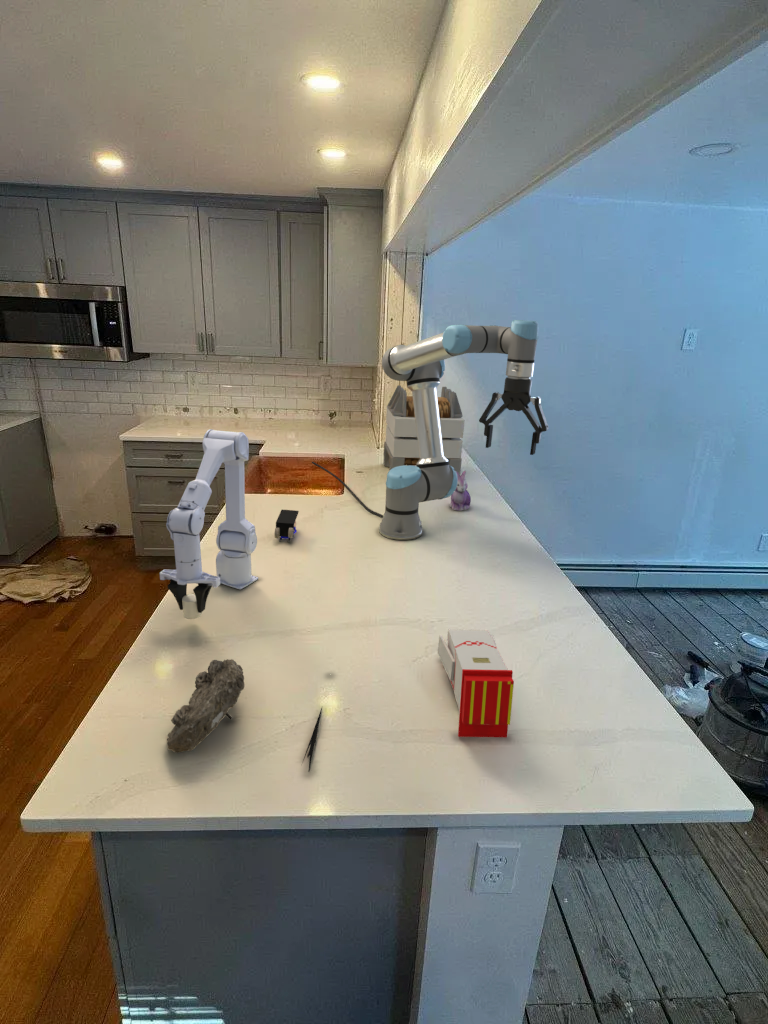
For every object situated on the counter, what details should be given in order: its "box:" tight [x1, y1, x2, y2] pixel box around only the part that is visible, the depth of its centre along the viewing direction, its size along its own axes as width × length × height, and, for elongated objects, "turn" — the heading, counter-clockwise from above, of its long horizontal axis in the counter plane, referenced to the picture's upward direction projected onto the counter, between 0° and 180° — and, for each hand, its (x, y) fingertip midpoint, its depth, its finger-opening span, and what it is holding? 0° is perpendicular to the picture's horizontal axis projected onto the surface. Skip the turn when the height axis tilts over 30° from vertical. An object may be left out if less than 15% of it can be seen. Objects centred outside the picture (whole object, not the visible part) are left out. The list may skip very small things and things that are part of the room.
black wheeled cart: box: [273, 509, 300, 543], centre depth 192 cm, size 7×8×15 cm
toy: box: [437, 628, 515, 738], centre depth 117 cm, size 12×13×30 cm
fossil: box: [166, 658, 245, 754], centre depth 106 cm, size 22×10×15 cm
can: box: [182, 593, 203, 620], centre depth 136 cm, size 4×4×4 cm
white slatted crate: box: [383, 384, 465, 476], centre depth 268 cm, size 34×33×41 cm
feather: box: [301, 673, 332, 771], centre depth 108 cm, size 2×28×2 cm
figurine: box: [449, 470, 472, 511], centre depth 227 cm, size 9×10×15 cm
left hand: (192, 609), depth 137 cm, fingers closed on can, 4 cm apart
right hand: (509, 450), depth 168 cm, fingers open, 13 cm apart
